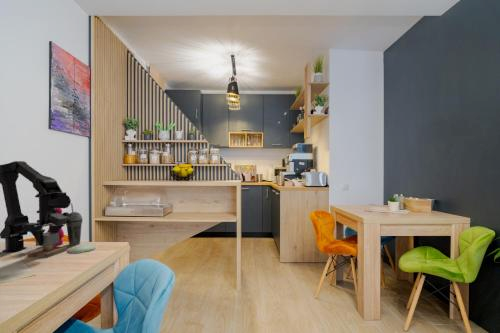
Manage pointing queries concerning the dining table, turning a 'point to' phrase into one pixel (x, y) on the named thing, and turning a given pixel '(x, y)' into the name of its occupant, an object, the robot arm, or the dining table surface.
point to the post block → (47, 251)
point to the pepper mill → (61, 233)
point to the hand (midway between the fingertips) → (47, 243)
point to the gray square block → (49, 238)
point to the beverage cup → (74, 227)
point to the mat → (81, 249)
